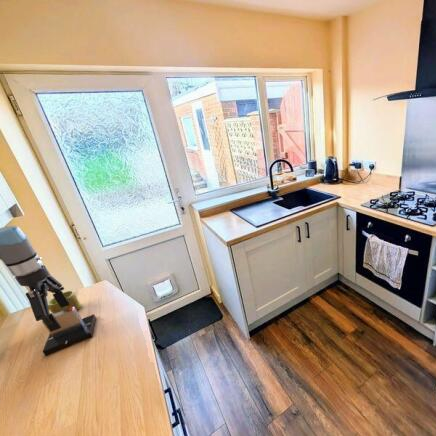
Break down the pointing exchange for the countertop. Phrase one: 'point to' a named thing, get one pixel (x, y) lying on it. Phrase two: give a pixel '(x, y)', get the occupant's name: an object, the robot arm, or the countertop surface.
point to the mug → (73, 302)
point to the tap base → (71, 337)
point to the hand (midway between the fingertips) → (61, 316)
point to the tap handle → (67, 322)
